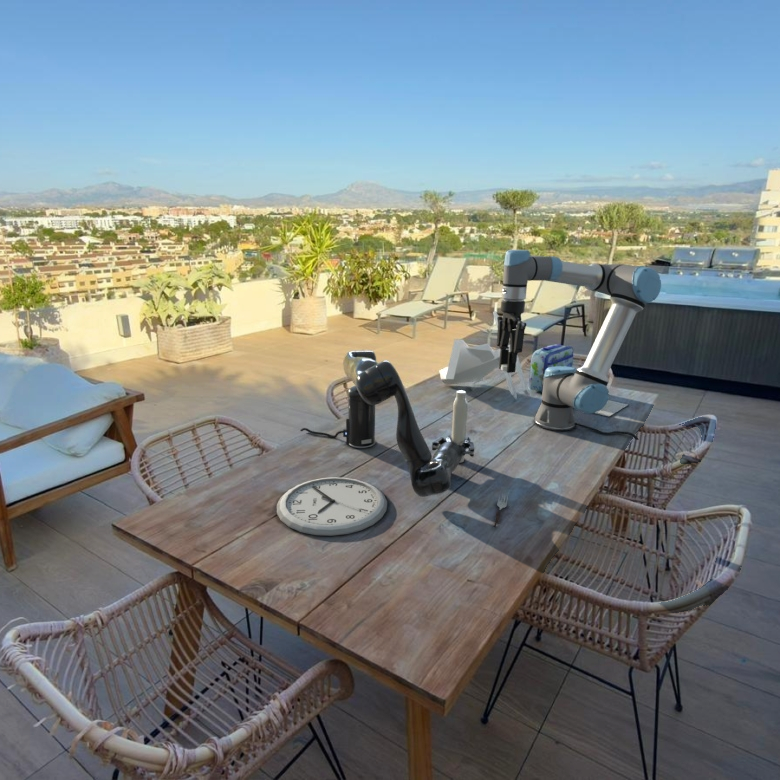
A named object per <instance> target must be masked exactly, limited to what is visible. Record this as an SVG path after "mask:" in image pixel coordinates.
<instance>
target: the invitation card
mask: <svg viewBox="0 0 780 780" xmlns="http://www.w3.org/2000/svg"><path fill="white" fill-rule="evenodd" d="M628 406H629V404H627V403H623V402H618V401H614V400H609V399H608V401H607V403H606V405H605V406H604V407H603V408H602V409H601V410H599V411H597V412H595V413H594V414H596V415H600V416H604V417H608V418H609V417H611V416H613V415H614V414H616V413H617V412H619V411H621V410H623V409H624V408H626V407H628Z"/></svg>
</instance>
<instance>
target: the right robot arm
mask: <svg viewBox="0 0 780 780" xmlns="http://www.w3.org/2000/svg"><path fill="white" fill-rule="evenodd" d="M529 281H531V282H532V281H539V282H540V281H545V282H551V283H557V284H558V283H559V284H564V285H565V284H566V285H572V286H578V287H584V288H585V289H586V290H587V291H592V292H596V293H600V294H604V295H606V296H609V300H610V302H611V305H610V306H609V307H610V308H609V310H608V312H607V313H606V316H605V318H604V321H603V322H602V325H601V327H600V329H599V331H598V333H597V334H596V337H595V340H594V341H593V343H592V346H591V348H590V350H589V352H588V354H587V357H586V359H585V361H584V363H583V365H582V366H581V367H578V368H576V367H573V366H572V367H565V366H556V367H549V368H547V369H546V370H545V374H544V381H543V391H542V392H541V393H542V394H541V402H540V405H539V407H538V410H537V411H536V413H535V417H534V424H535V425H536V426H537V427H539V428H542V429H544V430H549V431H556V432H567V431H572V430H574V429H575V428H576V426H577V427H581V428H583V429H587V430H590V431H594V432H595V433H599V434H601V435H607V436H610V435H617V434H618V435H628V436H630V437H632V438H634V439H635V440H637V441H639V438H638V436H637V435H636V434H634V433H633V432H630V431H622V430H621V431H620V430H614V431H602V430H600V429H597V428H596V427H595V428H594V427H591V426H588V425H586V424H582V423H579V422H576V418H575V417H576V416H575V413H574V409H575V410H576V411H577V412H580V413H584V414H587V415H593V414H596V413H595V412H597V411H599V410H601V409H602V408H603V407H604V406H605V405H606V403H607V401H608V400H609V398H610V394H609V393H610V391H609V389H608V387H607V386H608V384H609V378H608V374H609V371H610V369H611V367H612V365H613V363H614V361H615V358H616V357H617V354H618V352H619V350H620V348H621V346H622V344H623V342H624V340H625V337H626V336H627V333H628V332H629V329H630V327H631V325H632V323H633V321H634V319H635V317H636V314H637V313H639V312H642V311H643V310H644V309H645V307H646V305H647V304H649V303H652V302H653V301H656V299H657V298H658V296H659V295H660V293H661V289H662V280H661V276H660V273H659V272H658V271H657V270H656V269H654V268H652V267H648V266H645V265H632V264H631V265H630V264H621V263H618V264H617V263H614V264H613V263H612V264H604V263H603V264H601V263H591V264H589V265H588V264H584V263H583V264H582V263H577V262H570V261H564V260H561V259H560V257H558V256H552V255H549V256H543V255H531V252H530V251H529V250H528V249H527V250H526V249H509V250H507V251H506V252H505V256H504V263H503V277H502V290H501V298H502V300H501V301H500V311H501V312H502V315H501V316H499V317H498V318H497V320H498V328H497V332H496V346H497V347H499V348H498V349H500V365H499V367H498V369H499V370H501V365H502V364H507V373H510V374H512V373H516V362H517V355H518V354H519V353H520V354H521V353H522V352H523V347H524V338H525V331H526V328H527V322H523V320H522V314H523V313H524V312H525V310H526V308H525V307H526V301H525V300H526V299H527V289H528V282H529ZM508 345H510V352H509V350H508V349H509V347H508Z"/></svg>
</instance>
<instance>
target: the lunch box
mask: <svg viewBox="0 0 780 780" xmlns="http://www.w3.org/2000/svg"><path fill="white" fill-rule="evenodd" d="M530 359H531V360H530V366H529V377H528V379H529V380H528V387H529V390H531V391H536V392H541V393H542V391H543V381H544V374H545V370H546V369H547V368H549V367H556V366H565V367H573V363H574V347H572V346H568V345H562V344H551V345H547V346H545V347H541V348H539V349H536V350H534V352H533V353H532V355H531V358H530Z"/></svg>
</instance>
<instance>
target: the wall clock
mask: <svg viewBox="0 0 780 780" xmlns="http://www.w3.org/2000/svg"><path fill="white" fill-rule="evenodd" d="M387 509H388V500H387V498H386V496H385V494H384V493H383V492H382V491H381V490H380V489H379V488H377V487H376V486H374V485H372V484H371V483H369V482H365V481H362V480H359V479H355V478H349V477H338V476H337V477H335V476H333V477H332V476H331V477H322V478H317V479H312V480H307V481H305V482H302V483H299V484H297V485H295V486H293V487H292V488H290V489H288V490H287V491H286V492H285V493H284V494H283V495H281V496H280V498H279V499H278V502H277V503H276V515H277V517H278V518H279V520H280V521H281V522H282V523H283V524H285V525H286V526H287V527H288V528H290V529H293V530H295V531H297V532H299V533H303V534H308V535H312V536H327V537H328V536H329V537H331V536H332V537H333V536H342V535H350V534H352V533H356V532H361V531H363V530H366V529H368V528H369V527H372V526H373V525H375V524H376V523H378V522H379V521H380V520H381V519H382V518H383V517H384V516H385V514H386V512H387Z"/></svg>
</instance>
